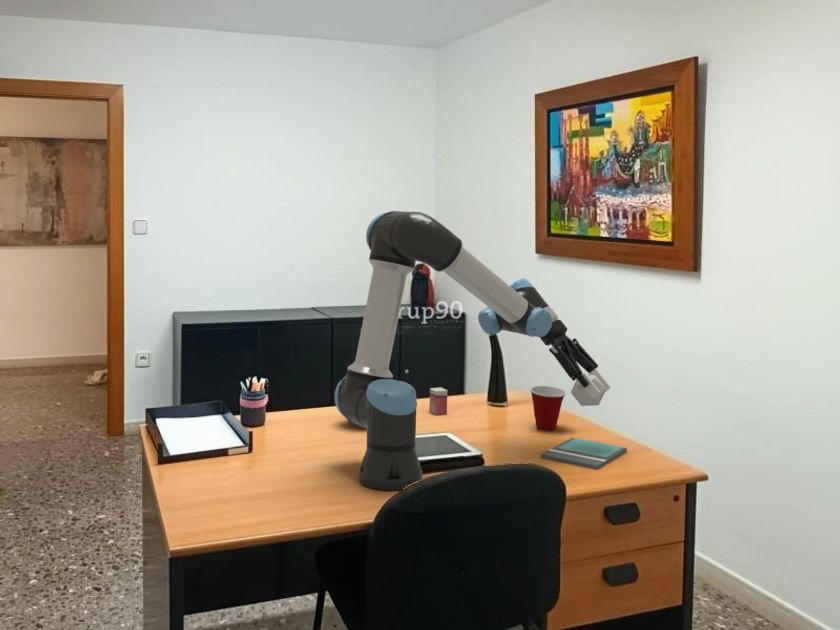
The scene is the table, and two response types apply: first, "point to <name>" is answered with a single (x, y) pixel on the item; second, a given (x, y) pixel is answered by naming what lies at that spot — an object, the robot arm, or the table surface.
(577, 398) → the die
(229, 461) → the table surface
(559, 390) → the plastic cup
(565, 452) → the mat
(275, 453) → the table surface
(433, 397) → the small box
